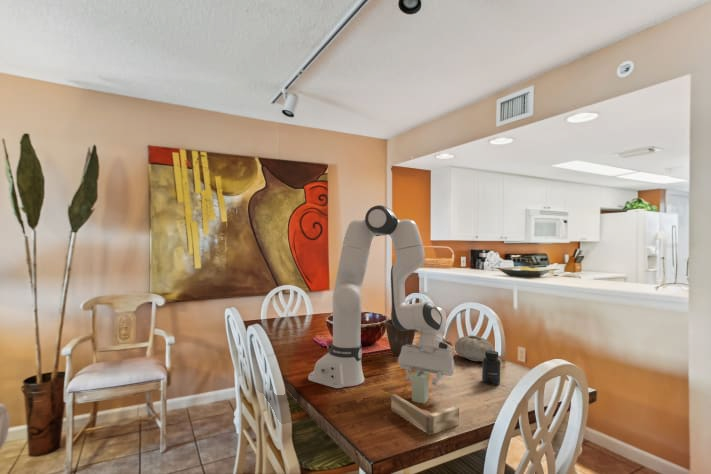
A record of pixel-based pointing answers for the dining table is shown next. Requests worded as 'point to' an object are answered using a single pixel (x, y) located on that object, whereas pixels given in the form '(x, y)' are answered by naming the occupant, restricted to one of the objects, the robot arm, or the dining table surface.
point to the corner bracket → (425, 416)
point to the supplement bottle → (491, 368)
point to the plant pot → (398, 337)
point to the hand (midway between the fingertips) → (421, 382)
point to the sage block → (420, 387)
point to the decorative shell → (472, 347)
